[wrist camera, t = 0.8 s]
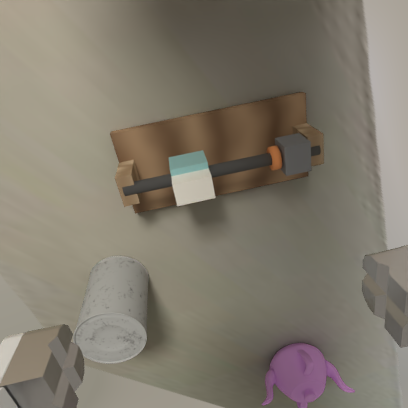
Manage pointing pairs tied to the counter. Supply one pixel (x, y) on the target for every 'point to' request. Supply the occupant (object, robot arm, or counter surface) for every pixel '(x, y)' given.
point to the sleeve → (191, 178)
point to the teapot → (301, 374)
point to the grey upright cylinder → (114, 311)
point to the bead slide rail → (248, 163)
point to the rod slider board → (212, 146)
